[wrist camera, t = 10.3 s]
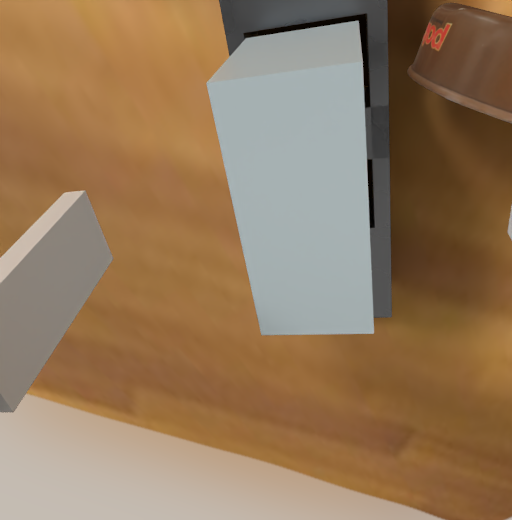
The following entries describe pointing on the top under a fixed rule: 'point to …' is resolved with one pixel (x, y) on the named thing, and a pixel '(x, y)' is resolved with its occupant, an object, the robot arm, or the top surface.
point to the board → (375, 98)
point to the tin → (468, 59)
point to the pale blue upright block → (299, 176)
